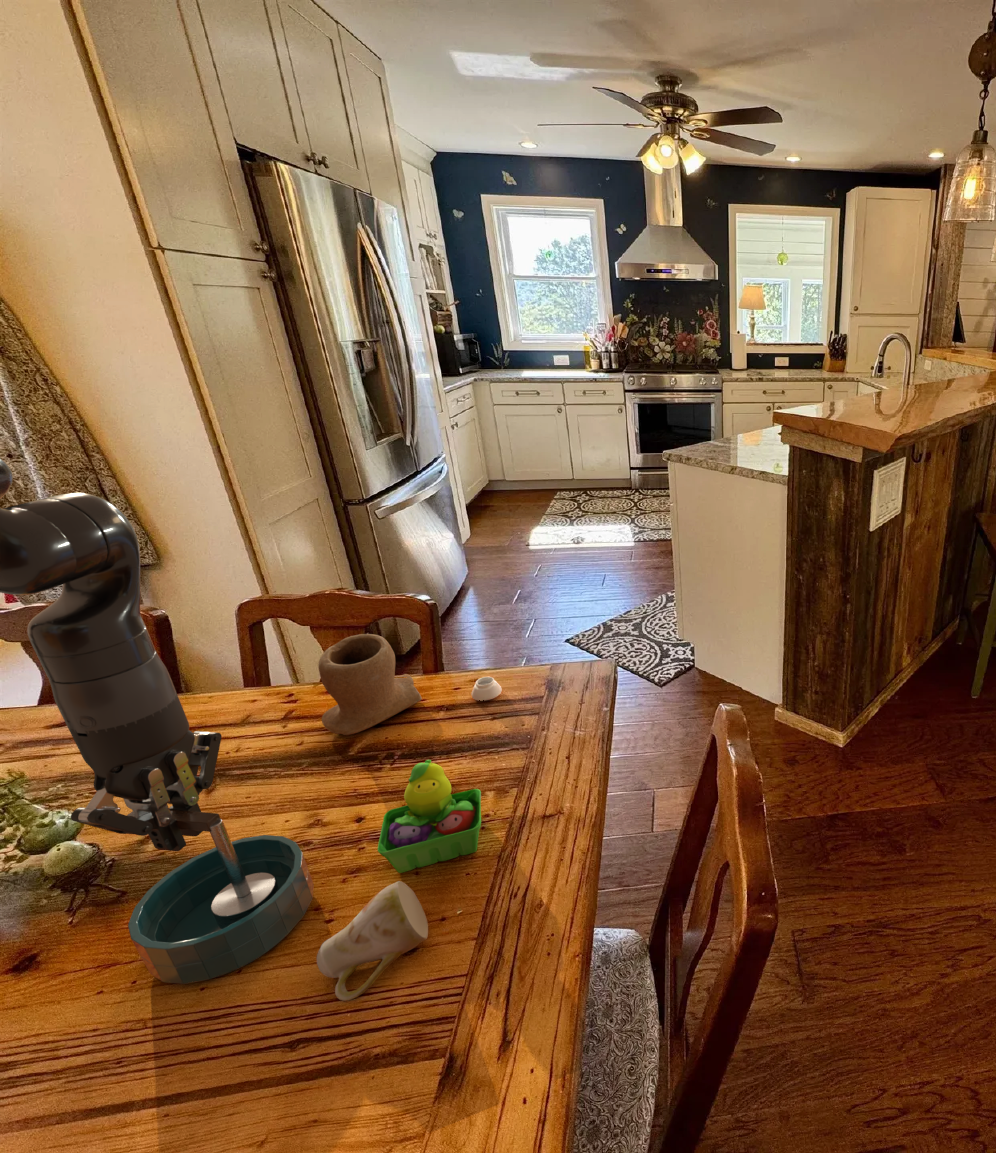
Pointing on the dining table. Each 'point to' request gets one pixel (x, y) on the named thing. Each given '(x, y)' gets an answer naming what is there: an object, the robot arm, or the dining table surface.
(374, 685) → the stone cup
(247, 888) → the rod with disc base
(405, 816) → the fruit basket
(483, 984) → the dining table surface
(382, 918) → the mug
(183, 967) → the bowl
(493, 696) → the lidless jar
